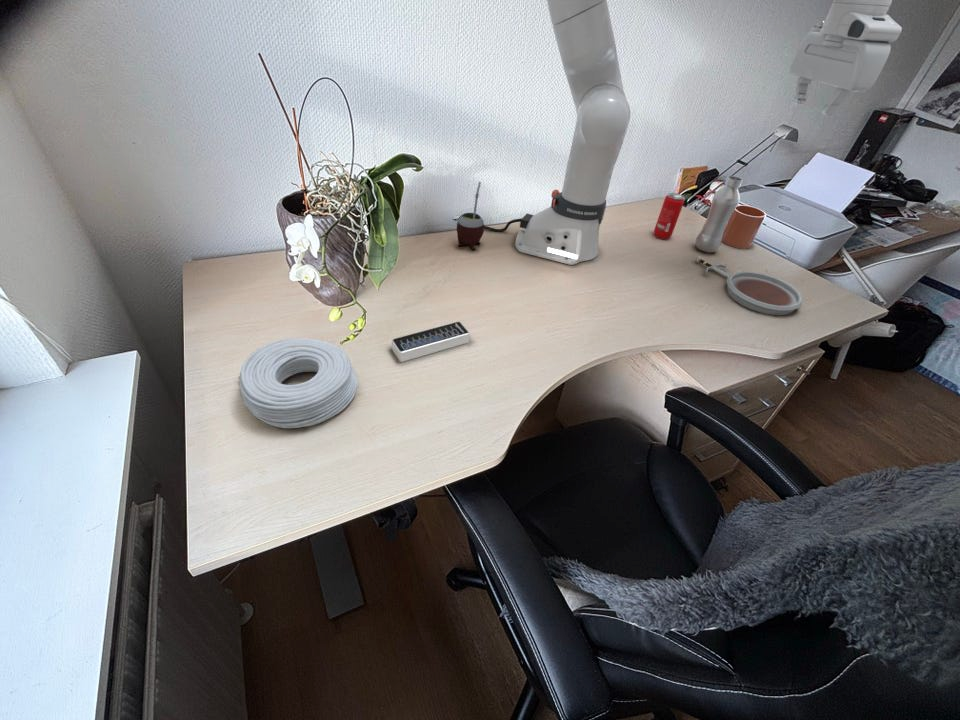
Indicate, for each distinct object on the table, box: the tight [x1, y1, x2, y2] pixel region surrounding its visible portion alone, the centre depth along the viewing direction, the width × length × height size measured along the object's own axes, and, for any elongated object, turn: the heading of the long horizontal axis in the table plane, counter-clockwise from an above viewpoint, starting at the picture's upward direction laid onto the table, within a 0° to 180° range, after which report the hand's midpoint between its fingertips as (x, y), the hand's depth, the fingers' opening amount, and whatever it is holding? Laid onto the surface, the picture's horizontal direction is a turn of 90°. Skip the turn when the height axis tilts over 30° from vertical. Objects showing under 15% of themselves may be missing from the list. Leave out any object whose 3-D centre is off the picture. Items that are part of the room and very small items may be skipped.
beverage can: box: [653, 192, 686, 240], centre depth 131 cm, size 5×5×12 cm
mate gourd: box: [456, 181, 485, 252], centre depth 116 cm, size 8×8×15 cm
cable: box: [238, 337, 358, 429], centre depth 74 cm, size 18×18×6 cm
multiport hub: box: [391, 321, 470, 363], centre depth 87 cm, size 4×14×2 cm, turn 120°
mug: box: [721, 204, 767, 250], centre depth 133 cm, size 12×9×10 cm
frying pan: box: [695, 256, 803, 316], centre depth 114 cm, size 17×3×28 cm
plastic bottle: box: [695, 175, 743, 253], centre depth 124 cm, size 6×7×20 cm
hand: (812, 108), depth 93 cm, fingers open, 8 cm apart
